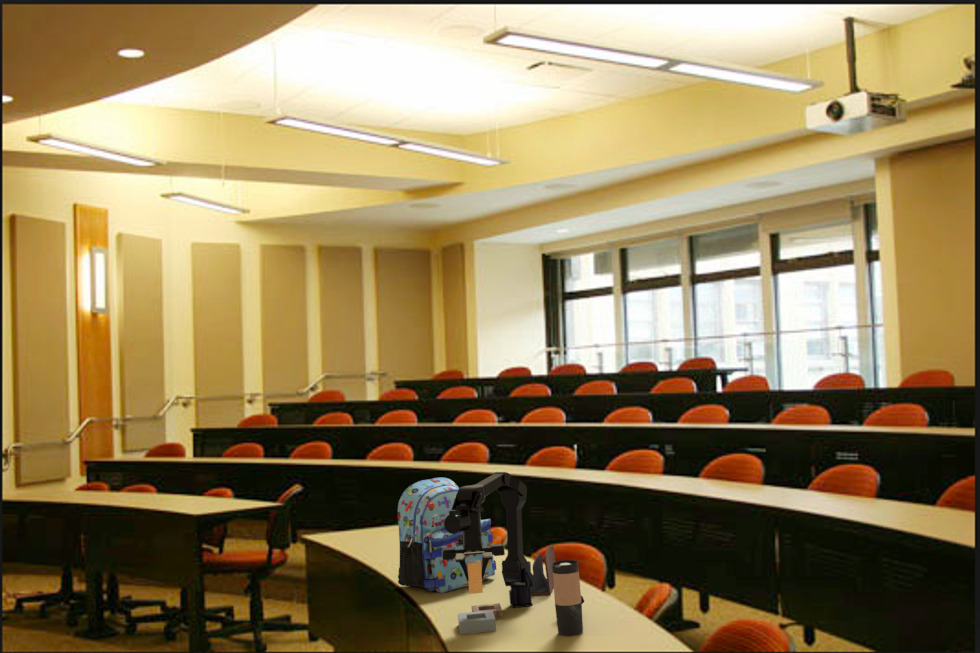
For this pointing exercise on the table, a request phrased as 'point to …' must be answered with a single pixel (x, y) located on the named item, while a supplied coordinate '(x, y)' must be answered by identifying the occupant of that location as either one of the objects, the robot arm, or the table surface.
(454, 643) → the table surface
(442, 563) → the backpack
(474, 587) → the peg
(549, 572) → the letter holder
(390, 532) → the table surface
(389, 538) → the table surface
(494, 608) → the mount
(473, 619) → the socket
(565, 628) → the travel mug
